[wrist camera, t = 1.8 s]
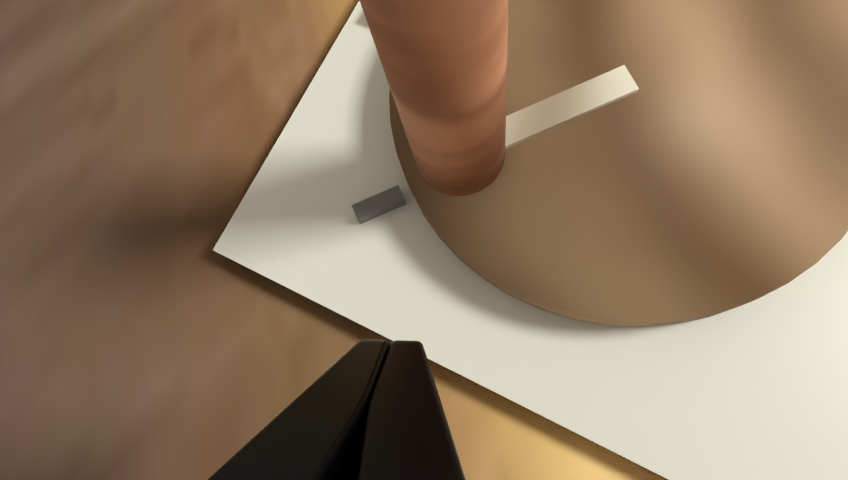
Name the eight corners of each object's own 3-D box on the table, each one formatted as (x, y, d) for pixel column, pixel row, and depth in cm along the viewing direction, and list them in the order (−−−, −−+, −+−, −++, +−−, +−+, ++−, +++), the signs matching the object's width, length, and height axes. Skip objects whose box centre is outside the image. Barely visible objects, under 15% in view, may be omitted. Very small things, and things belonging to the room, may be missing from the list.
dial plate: (832, 562, 17) (858, 574, 15) (222, 255, 22) (205, 246, 21) (1017, -31, 21) (1049, -58, 20) (471, -171, 26) (469, -200, 25)
